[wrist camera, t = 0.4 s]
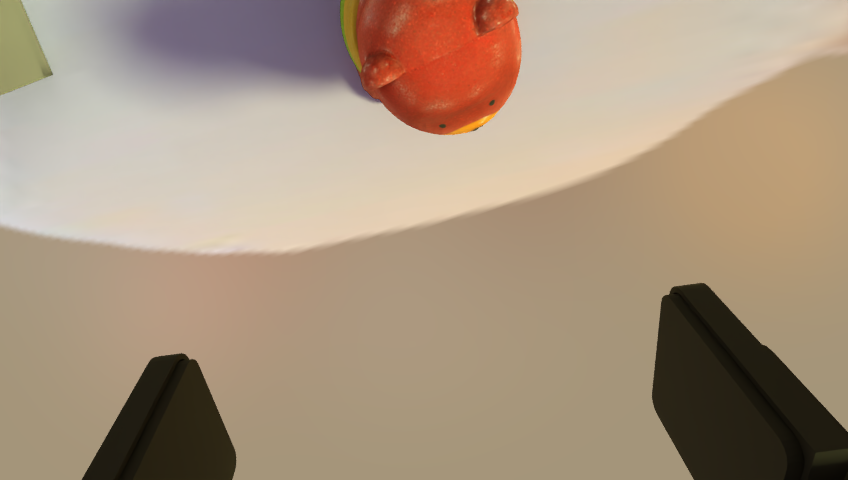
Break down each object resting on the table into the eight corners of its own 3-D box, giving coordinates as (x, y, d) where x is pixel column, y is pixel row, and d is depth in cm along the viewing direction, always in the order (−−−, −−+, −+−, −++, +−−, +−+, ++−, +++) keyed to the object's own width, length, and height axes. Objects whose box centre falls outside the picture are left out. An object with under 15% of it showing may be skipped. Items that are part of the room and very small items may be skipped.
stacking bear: (374, 110, 39) (364, 223, 23) (313, -41, 34) (249, -25, 19) (520, 56, 38) (612, 137, 22) (478, -108, 33) (557, -152, 17)
